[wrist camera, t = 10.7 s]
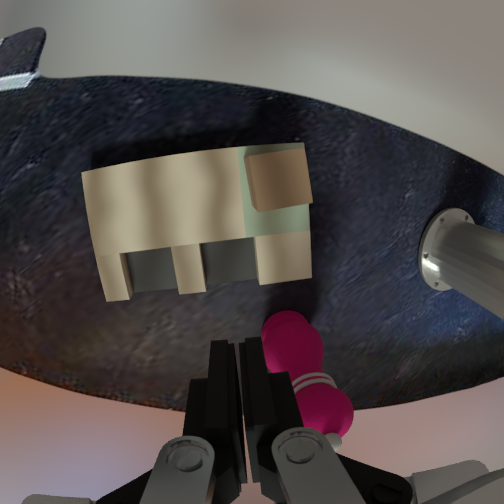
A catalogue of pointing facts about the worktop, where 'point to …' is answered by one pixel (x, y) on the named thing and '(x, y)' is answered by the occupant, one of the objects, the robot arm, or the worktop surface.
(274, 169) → the walnut block
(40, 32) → the worktop surface
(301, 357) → the pepper mill
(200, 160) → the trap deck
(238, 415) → the robot arm
